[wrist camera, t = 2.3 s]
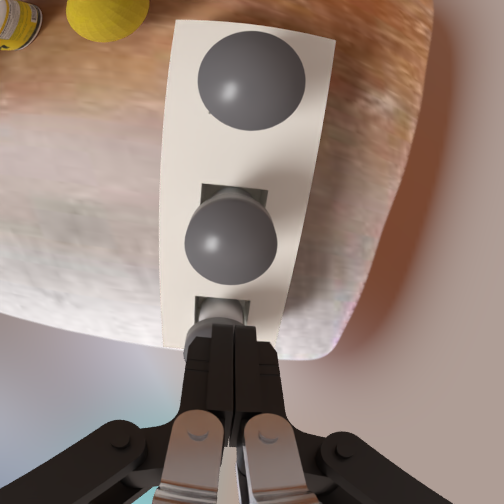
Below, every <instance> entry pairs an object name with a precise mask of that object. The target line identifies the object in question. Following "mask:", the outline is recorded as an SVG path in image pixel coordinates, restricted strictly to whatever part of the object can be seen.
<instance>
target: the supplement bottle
mask: <svg viewBox="0 0 504 504" xmlns="http://www.w3.org/2000/svg"><path fill="white" fill-rule="evenodd" d="M41 24H42V12H41V10H40V9H39V7H37V6H36V5H33V4H29V3H25V2H21V1H18V0H0V50H20V49H23V48H25V47H26V46H28V45H29V44H30V43H31V42H32V41H33V40H34V39H35V37H36V36H37V34H38V32H39V30H40V27H41Z"/></svg>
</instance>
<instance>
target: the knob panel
mask: <svg viewBox="0 0 504 504" xmlns="http://www.w3.org/2000/svg"><path fill="white" fill-rule="evenodd" d="M243 31H260V32H265V33H269V34H272V35H274V36H276V37H278V38H280V39H282V40H283V41H285V42H286V43H287V44H289V45H290V46H291V47H292V48H293V49H294V51H295V52H296V53H297V55H298V56H299V58H300V60H301V62H302V64H303V67H304V71H305V78H306V84H305V91H304V95H303V98H302V100H301V102H300V104H299V106H298V107H297V109H296V110H295V111H294V113H293V114H292V115H291V116H290V117H288V118H287V119H286V120H285V121H283V122H282V123H280V124H278V125H276V126H274V127H271V128H268V129H264V130H258V131H245V130H239V129H236V128H232V127H230V126H227V125H225V124H224V123H222V122H220V121H219V120H217V119H216V118H215V117H214V116H213V115H212V114H211V113H210V112H209V111H208V110H207V108H206V107H205V105H204V103H203V102H202V99H201V97H200V94H199V90H198V72H199V68H200V65H201V62H202V60H203V58H204V56H205V55H206V53H207V52H208V51H209V49H210V48H211V47H212V46H213V45H214V44H216V43H217V42H218V41H220V40H221V39H223V38H224V37H227V36H229V35H231V34H234V33H237V32H243ZM335 44H336V40H333V39H329V38H324V37H320V36H316V35H311V34H307V33H302V32H297V31H291V30H286V29H280V28H274V27H267V26H260V25H252V24H244V23H234V22H222V21H205V20H176V23H175V30H174V36H173V43H172V50H171V57H170V65H169V73H168V81H167V90H166V100H165V111H164V122H163V136H162V151H161V170H160V198H159V273H160V301H161V320H162V336H163V347H169V348H178V349H184V346H185V340H186V335H187V332H188V330H189V329H190V328H191V327H192V326H193V325H194V324H195V323H197V322H199V315H200V307H201V304H202V302H203V300H204V299H205V298H207V297H214V298H226V299H237V300H238V301H239V302H240V303H241V305H242V311H243V324H244V325H245V326H255V327H256V335H257V341H266V342H270V343H271V345H272V346H273V348H274V347H275V343H276V340H277V336H278V332H279V328H280V324H281V320H282V315H283V311H284V307H285V303H286V299H287V295H288V291H289V286H290V282H291V278H292V273H293V269H294V265H295V260H296V256H297V251H298V247H299V242H300V237H301V233H302V228H303V223H304V219H305V214H306V209H307V204H308V199H309V194H310V189H311V184H312V179H313V174H314V169H315V164H316V159H317V153H318V148H319V142H320V137H321V131H322V126H323V120H324V114H325V108H326V102H327V96H328V90H329V84H330V77H331V71H332V64H333V58H334V51H335ZM226 187H237V188H241V189H243V190H245V191H247V192H248V193H249V194H250V195H251V196H252V197H253V198H254V200H256V201H257V202H259V203H260V204H261V205H262V206H263V207H264V208H265V209H266V210H267V211H268V213H269V214H270V216H271V218H272V221H273V224H274V228H275V231H276V235H277V243H278V246H277V252H276V256H275V259H274V261H273V263H272V264H271V266H270V267H269V268H268V270H267V271H266V272H265V273H264V274H262V275H261V276H260V277H258V278H257V279H255V280H253V281H250V282H248V283H245V284H240V285H222V284H218V283H214V282H212V281H209V280H208V279H206V278H204V277H203V276H201V275H200V274H199V273H198V272H196V270H195V269H194V268H193V267H192V266H191V264H190V263H189V261H188V258H187V256H186V253H185V245H184V241H185V235H186V231H187V228H188V225H189V222H190V219H191V217H192V215H193V213H194V212H195V210H196V209H197V208H198V207H199V206H200V205H201V204H202V203H203V202H205V201H206V200H208V199H210V198H211V197H212V195H213V194H214V193H215V192H217V191H218V190H220V189H223V188H226Z"/></svg>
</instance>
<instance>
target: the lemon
mask: <svg viewBox="0 0 504 504" xmlns="http://www.w3.org/2000/svg"><path fill="white" fill-rule="evenodd" d="M148 9H149V0H68V1H67V7H66V15H67V20H68V22H69V24H70V25H71V27H72V28H73V29H74V30H75V31H76V32H77V33H78V34H79V35H80V36H82V37H84V38H86V39H89V40H91V41H96V42H111V41H116V40H119V39H122V38H125V37H126V36H128V35H130V34H132V33H133V32H134V31H135V30H136V29H137V28H139V26H140V25H141V24H142V23H143V21H144V20H145V18H146V15H147V13H148Z"/></svg>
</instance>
